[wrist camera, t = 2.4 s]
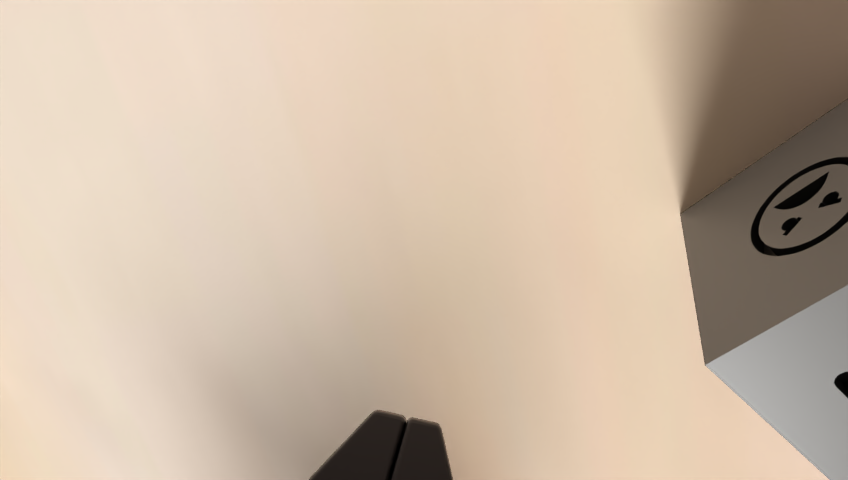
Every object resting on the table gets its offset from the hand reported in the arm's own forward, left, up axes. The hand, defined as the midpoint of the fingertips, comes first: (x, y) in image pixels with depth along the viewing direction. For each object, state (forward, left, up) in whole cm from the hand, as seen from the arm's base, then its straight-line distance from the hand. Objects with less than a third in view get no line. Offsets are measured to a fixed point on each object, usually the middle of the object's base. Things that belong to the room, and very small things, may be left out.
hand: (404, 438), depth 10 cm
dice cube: (-8, +1, -9) cm, 12 cm away
